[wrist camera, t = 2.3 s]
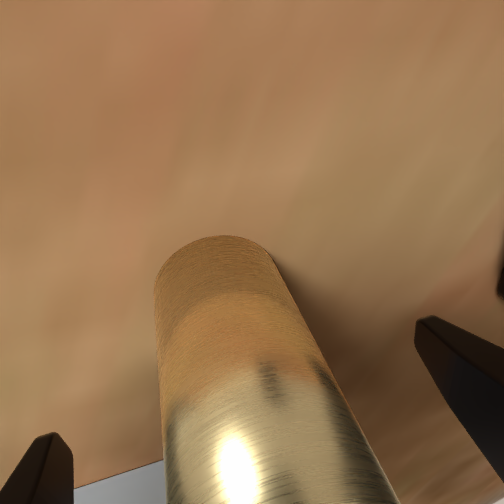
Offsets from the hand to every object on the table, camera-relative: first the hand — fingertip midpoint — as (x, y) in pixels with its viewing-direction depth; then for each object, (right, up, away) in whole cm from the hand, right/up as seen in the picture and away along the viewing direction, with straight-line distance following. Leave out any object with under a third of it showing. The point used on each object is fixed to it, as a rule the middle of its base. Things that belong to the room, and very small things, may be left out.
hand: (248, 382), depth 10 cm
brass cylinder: (-1, +2, +3) cm, 4 cm away
